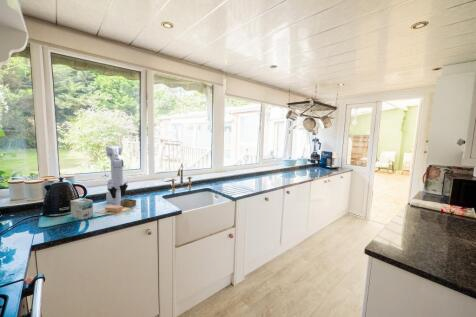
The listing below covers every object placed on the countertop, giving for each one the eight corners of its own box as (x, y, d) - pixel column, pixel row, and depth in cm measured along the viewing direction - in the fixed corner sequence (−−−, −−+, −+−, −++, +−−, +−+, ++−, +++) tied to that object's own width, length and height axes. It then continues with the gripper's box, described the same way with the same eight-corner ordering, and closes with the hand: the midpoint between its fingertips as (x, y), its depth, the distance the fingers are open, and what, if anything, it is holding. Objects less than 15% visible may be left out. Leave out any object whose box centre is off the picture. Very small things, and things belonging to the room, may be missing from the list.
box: (120, 206, 146) (120, 200, 146) (125, 204, 151) (125, 198, 151) (131, 207, 145) (131, 201, 144) (136, 205, 149) (135, 199, 149)
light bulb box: (93, 216, 128) (93, 199, 127) (82, 220, 121) (81, 202, 120) (82, 213, 131) (81, 197, 130) (70, 217, 125) (69, 200, 124)
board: (95, 213, 133) (95, 212, 132) (112, 206, 146) (112, 205, 146) (118, 216, 129) (118, 215, 129) (133, 208, 142) (133, 208, 142)
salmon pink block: (104, 211, 135) (104, 207, 134) (111, 208, 140) (111, 204, 140) (116, 212, 133) (116, 208, 132) (123, 210, 138) (122, 206, 138)
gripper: (114, 179, 129) (114, 200, 130) (130, 175, 143) (131, 194, 145) (105, 178, 131) (105, 199, 132) (122, 175, 145) (122, 193, 146)
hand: (118, 196), depth 138 cm, fingers open, 7 cm apart
